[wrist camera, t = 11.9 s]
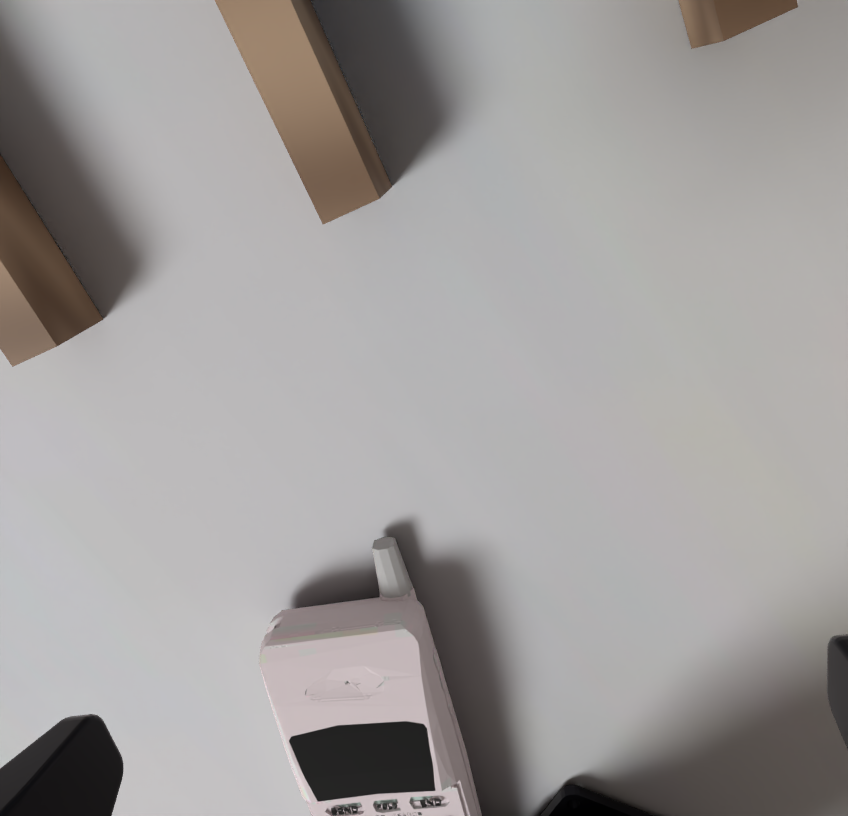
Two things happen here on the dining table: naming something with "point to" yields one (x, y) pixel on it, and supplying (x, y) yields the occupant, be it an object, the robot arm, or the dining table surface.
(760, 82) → the dining table surface
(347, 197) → the comb rack
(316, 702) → the mobile phone
